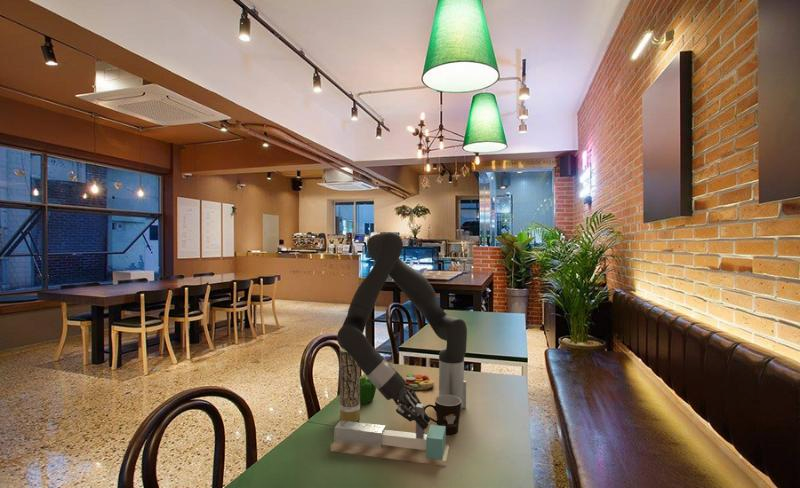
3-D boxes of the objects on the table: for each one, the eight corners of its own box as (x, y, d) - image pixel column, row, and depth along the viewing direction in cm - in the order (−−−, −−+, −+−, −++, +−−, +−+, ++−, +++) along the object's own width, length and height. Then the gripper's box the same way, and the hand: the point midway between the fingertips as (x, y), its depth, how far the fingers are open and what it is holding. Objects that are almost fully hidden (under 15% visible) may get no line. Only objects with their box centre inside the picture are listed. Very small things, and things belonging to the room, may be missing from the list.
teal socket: (426, 457, 109) (426, 437, 109) (430, 443, 117) (430, 424, 117) (442, 459, 108) (442, 439, 108) (445, 445, 116) (445, 426, 116)
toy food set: (435, 392, 160) (435, 384, 160) (402, 392, 160) (402, 384, 160) (432, 380, 173) (432, 372, 173) (402, 380, 174) (402, 372, 174)
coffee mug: (463, 426, 130) (463, 396, 130) (458, 439, 122) (458, 407, 122) (429, 421, 134) (429, 392, 134) (422, 433, 126) (422, 402, 126)
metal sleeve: (334, 443, 117) (334, 427, 117) (340, 435, 122) (340, 420, 122) (381, 449, 114) (381, 433, 114) (385, 440, 118) (385, 425, 118)
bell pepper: (364, 394, 157) (364, 369, 157) (380, 400, 152) (379, 374, 152) (349, 401, 150) (349, 375, 150) (364, 407, 145) (364, 380, 145)
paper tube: (356, 425, 131) (356, 351, 131) (337, 423, 133) (336, 349, 132) (362, 416, 138) (362, 345, 138) (344, 414, 139) (343, 344, 139)
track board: (330, 450, 116) (330, 445, 116) (340, 437, 124) (340, 432, 123) (445, 466, 108) (445, 460, 108) (449, 450, 116) (449, 445, 116)
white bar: (372, 443, 115) (372, 403, 115) (375, 438, 118) (375, 398, 118) (436, 451, 111) (436, 409, 111) (438, 446, 114) (438, 404, 114)
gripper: (388, 379, 108) (432, 428, 106) (400, 363, 122) (439, 406, 119) (370, 396, 109) (413, 445, 107) (384, 379, 123) (422, 422, 120)
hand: (427, 424), depth 113 cm, fingers closed on white bar, 2 cm apart
